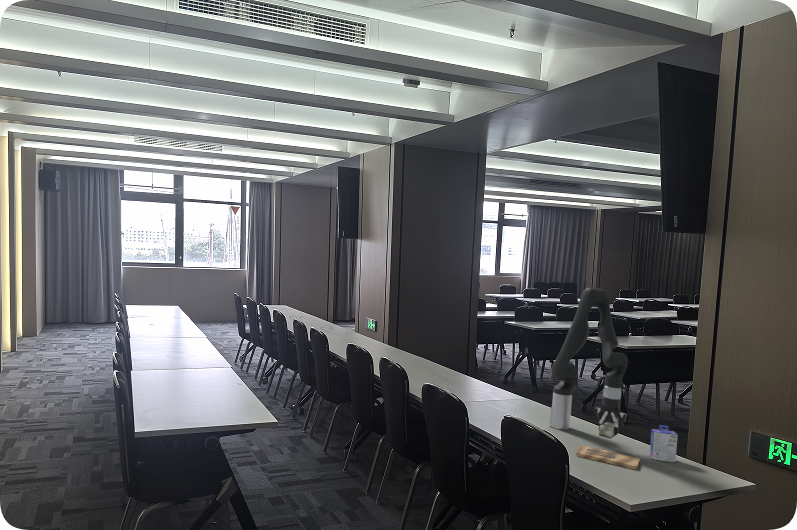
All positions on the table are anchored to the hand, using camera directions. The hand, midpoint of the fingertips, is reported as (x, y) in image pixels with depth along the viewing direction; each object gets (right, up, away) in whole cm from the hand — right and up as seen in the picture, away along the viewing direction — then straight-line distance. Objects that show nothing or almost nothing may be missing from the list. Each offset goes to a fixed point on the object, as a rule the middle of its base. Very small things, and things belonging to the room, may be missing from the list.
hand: (608, 433), depth 248 cm
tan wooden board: (-5, -7, -13) cm, 15 cm away
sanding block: (0, -1, 0) cm, 1 cm away
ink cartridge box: (+21, -9, -8) cm, 24 cm away
